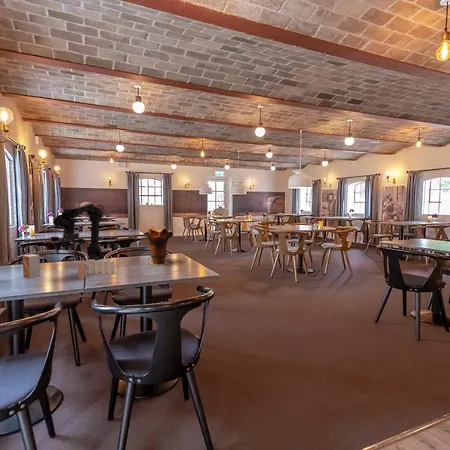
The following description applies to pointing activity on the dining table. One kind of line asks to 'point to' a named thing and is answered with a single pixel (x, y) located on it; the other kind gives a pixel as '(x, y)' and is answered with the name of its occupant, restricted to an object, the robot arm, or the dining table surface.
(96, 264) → the domino
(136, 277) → the dining table surface
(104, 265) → the domino
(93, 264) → the domino
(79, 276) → the domino
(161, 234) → the decorative vase
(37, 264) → the small box
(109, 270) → the domino
